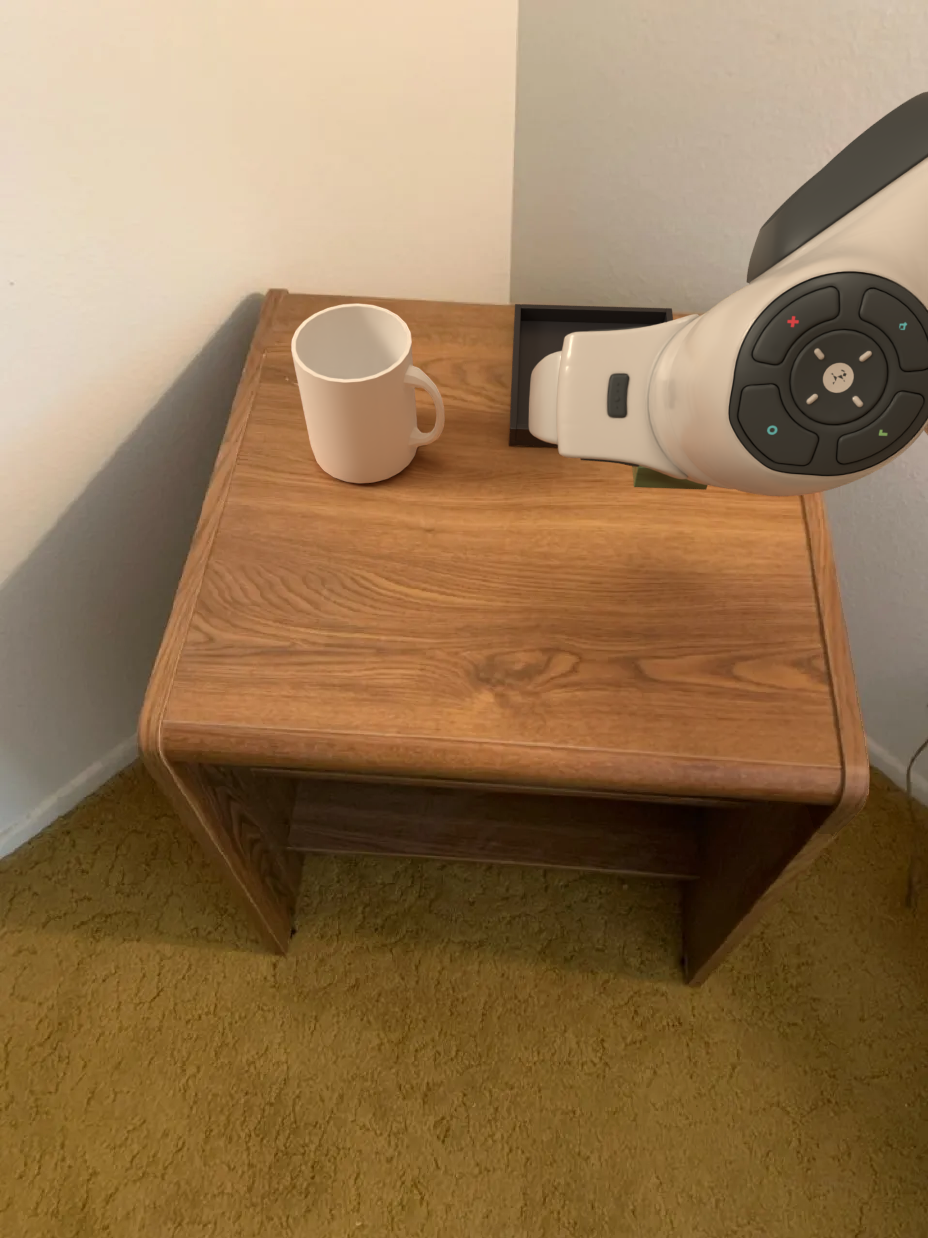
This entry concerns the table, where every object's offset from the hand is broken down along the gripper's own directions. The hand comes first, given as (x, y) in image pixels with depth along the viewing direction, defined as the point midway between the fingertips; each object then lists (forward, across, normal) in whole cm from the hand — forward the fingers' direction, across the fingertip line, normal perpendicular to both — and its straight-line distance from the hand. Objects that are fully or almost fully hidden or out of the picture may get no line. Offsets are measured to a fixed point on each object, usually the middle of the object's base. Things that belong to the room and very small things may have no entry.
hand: (679, 410), depth 61 cm
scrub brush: (+3, 0, +4) cm, 5 cm away
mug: (+20, +22, +3) cm, 30 cm away
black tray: (+27, +4, -4) cm, 27 cm away
